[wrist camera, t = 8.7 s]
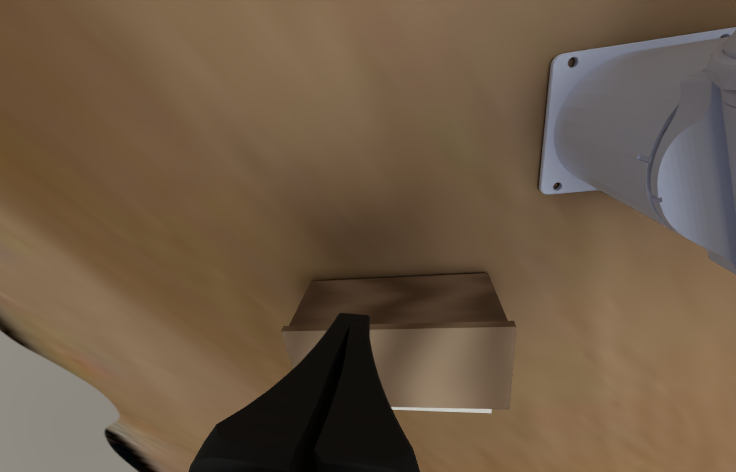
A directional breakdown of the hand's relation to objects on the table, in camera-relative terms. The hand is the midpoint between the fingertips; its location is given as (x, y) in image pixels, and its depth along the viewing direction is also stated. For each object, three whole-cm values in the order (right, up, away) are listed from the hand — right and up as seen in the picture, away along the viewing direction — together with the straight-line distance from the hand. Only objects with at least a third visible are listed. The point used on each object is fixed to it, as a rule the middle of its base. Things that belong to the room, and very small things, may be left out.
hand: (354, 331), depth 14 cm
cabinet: (+3, -2, +12) cm, 13 cm away
